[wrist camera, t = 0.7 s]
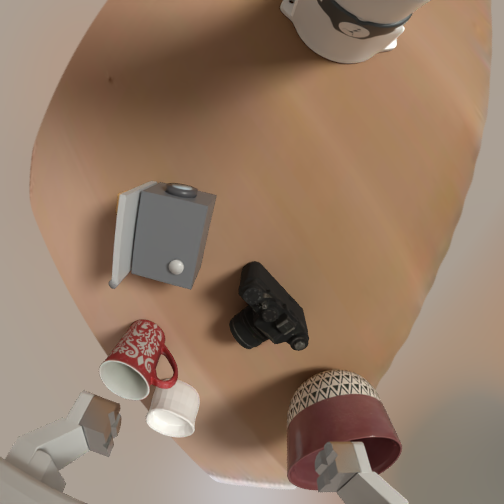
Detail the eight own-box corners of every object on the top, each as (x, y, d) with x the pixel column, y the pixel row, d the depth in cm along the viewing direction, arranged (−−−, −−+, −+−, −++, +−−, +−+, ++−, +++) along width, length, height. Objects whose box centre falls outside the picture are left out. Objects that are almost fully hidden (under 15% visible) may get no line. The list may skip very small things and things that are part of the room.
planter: (342, 332, 53) (375, 420, 33) (384, 381, 58) (415, 455, 38) (261, 383, 58) (262, 471, 38) (313, 422, 63) (325, 497, 43)
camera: (209, 290, 50) (199, 323, 41) (259, 253, 48) (259, 281, 39) (261, 342, 54) (261, 380, 45) (309, 311, 52) (318, 346, 42)
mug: (124, 344, 55) (99, 389, 43) (126, 309, 52) (97, 353, 40) (183, 363, 56) (169, 413, 44) (191, 328, 53) (174, 379, 40)
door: (147, 179, 44) (114, 193, 33) (157, 181, 44) (126, 195, 33) (136, 255, 48) (107, 286, 37) (145, 257, 48) (117, 290, 37)
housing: (161, 175, 44) (141, 183, 36) (218, 188, 44) (209, 199, 36) (148, 253, 48) (129, 275, 40) (200, 266, 49) (190, 291, 41)
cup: (152, 374, 58) (139, 407, 49) (197, 378, 58) (189, 412, 49) (161, 403, 61) (151, 435, 52) (203, 406, 61) (197, 440, 52)
